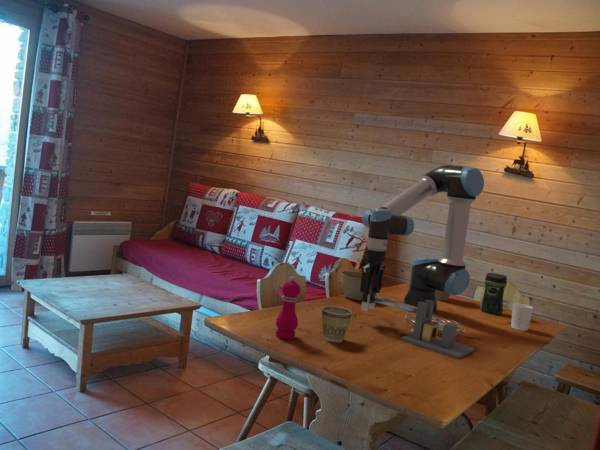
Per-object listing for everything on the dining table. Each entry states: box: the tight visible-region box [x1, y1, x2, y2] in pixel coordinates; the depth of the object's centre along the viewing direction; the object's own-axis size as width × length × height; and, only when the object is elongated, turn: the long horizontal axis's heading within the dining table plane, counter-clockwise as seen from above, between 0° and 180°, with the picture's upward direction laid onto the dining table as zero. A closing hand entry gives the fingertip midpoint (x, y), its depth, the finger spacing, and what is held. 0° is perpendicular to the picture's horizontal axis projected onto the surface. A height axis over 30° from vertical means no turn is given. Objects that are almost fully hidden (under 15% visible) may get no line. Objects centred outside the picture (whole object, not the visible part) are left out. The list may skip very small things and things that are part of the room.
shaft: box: [369, 291, 417, 315], centre depth 196 cm, size 22×4×4 cm, turn 51°
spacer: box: [421, 320, 440, 343], centre depth 187 cm, size 3×6×6 cm, turn 141°
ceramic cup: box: [321, 305, 357, 343], centre depth 177 cm, size 13×10×10 cm
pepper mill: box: [275, 276, 301, 340], centre depth 172 cm, size 7×7×20 cm
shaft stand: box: [400, 300, 475, 359], centre depth 184 cm, size 21×14×14 cm, turn 51°
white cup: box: [510, 302, 534, 332], centre depth 224 cm, size 8×8×10 cm
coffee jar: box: [480, 272, 508, 316], centre depth 248 cm, size 10×8×19 cm
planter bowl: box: [340, 270, 371, 301], centre depth 242 cm, size 16×16×11 cm
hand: (367, 309), depth 203 cm, fingers closed on shaft, 4 cm apart
